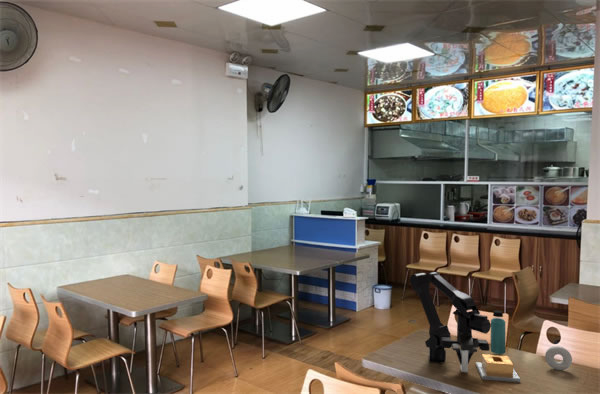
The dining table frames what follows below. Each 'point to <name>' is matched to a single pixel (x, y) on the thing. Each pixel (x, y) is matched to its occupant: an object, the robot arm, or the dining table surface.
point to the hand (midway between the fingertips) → (464, 364)
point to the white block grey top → (464, 360)
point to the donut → (561, 351)
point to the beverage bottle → (498, 333)
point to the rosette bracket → (497, 368)
